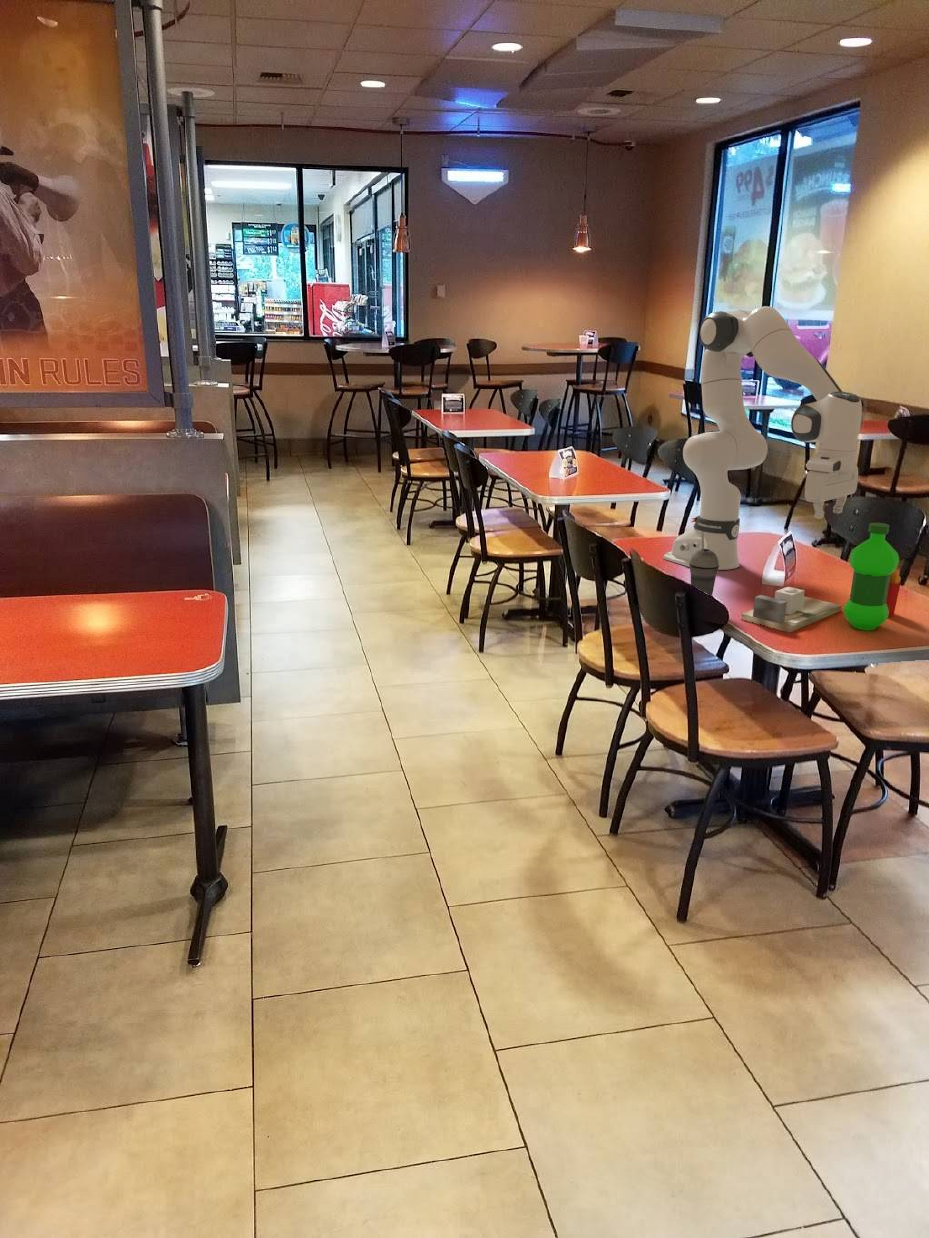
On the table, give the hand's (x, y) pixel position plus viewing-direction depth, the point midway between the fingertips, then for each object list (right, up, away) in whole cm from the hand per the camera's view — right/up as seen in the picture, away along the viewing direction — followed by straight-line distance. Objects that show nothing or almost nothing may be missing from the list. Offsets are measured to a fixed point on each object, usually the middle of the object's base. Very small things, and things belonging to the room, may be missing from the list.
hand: (828, 515), depth 229 cm
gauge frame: (-10, -25, -1) cm, 27 cm away
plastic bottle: (+5, -28, -9) cm, 30 cm away
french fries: (+14, -24, +1) cm, 28 cm away
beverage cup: (-31, -24, +3) cm, 39 cm away
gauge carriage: (-11, -25, -6) cm, 28 cm away
